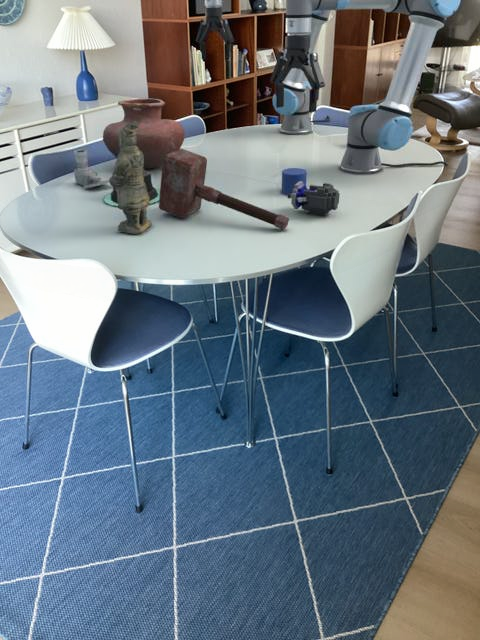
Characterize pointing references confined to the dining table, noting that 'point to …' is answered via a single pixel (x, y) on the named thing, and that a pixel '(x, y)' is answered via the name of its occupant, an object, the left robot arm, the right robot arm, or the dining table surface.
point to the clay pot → (146, 131)
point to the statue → (131, 182)
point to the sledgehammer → (200, 190)
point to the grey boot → (86, 171)
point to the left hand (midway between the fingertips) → (215, 59)
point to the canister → (292, 179)
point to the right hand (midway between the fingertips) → (295, 109)
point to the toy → (315, 198)
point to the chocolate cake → (152, 192)
